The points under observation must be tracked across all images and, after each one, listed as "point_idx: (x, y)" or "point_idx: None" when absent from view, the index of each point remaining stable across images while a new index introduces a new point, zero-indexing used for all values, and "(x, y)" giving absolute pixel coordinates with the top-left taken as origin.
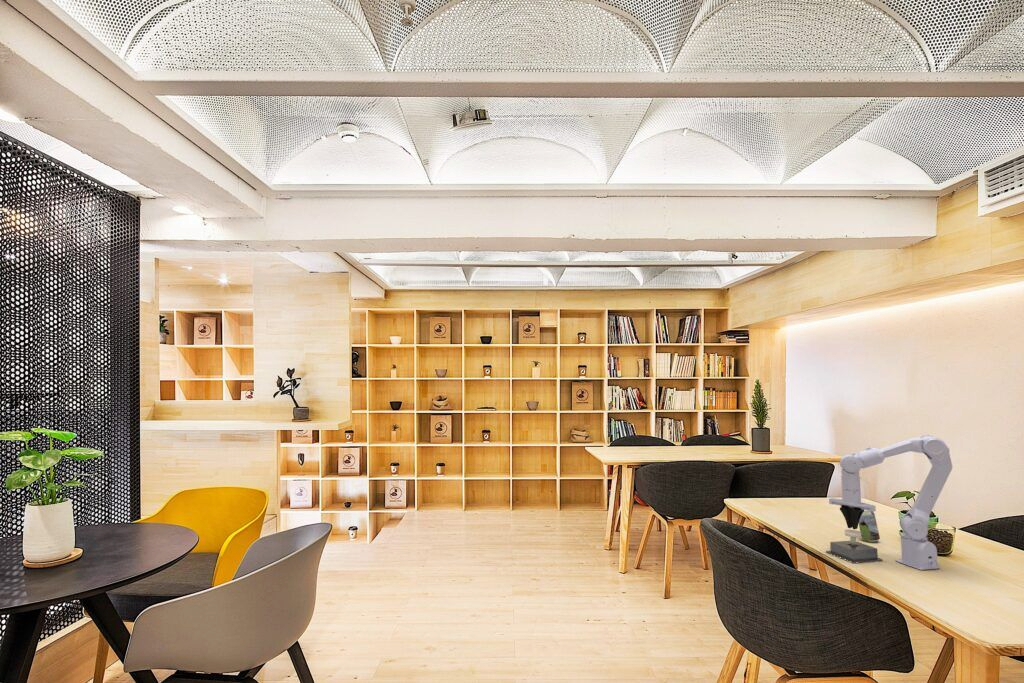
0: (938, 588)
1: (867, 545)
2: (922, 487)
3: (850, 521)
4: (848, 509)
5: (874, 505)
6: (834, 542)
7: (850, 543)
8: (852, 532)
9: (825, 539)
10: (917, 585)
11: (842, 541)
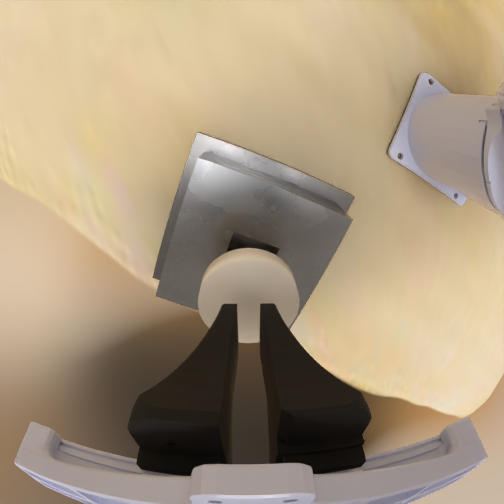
0: (474, 316)
1: (298, 200)
2: None
3: (233, 355)
4: (229, 462)
5: (480, 463)
6: (169, 288)
7: (222, 239)
8: (259, 329)
9: (48, 84)
10: (443, 336)
11: (178, 238)
